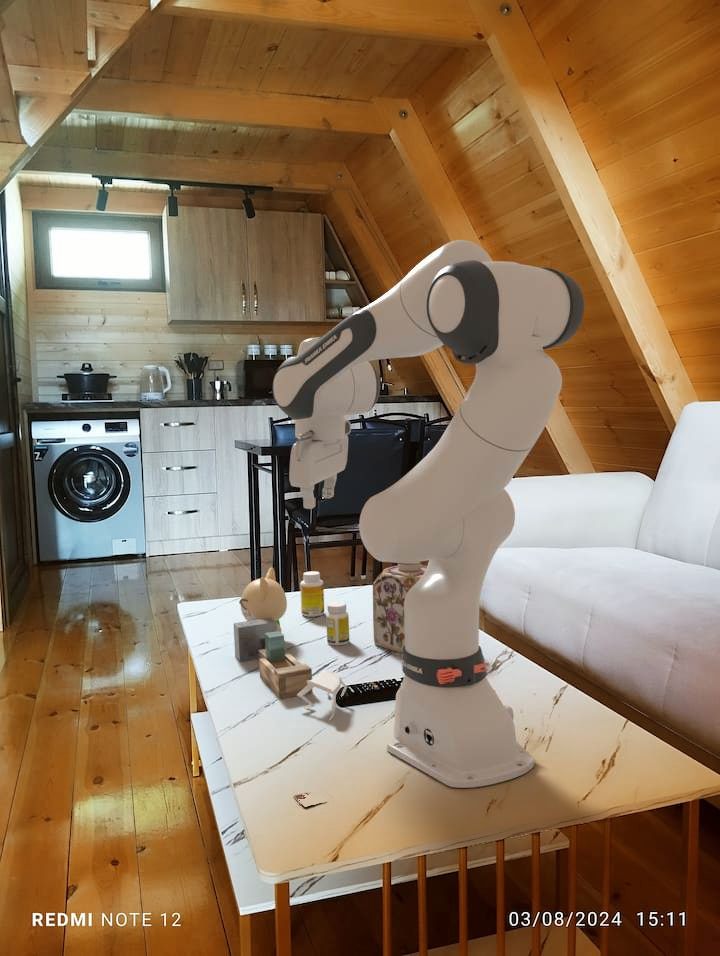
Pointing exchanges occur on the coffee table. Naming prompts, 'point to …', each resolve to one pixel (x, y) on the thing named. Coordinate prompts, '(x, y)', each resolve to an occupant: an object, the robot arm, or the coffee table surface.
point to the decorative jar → (393, 603)
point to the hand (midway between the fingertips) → (319, 502)
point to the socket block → (251, 637)
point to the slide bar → (274, 650)
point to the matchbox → (300, 796)
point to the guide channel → (285, 677)
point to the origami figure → (324, 688)
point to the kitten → (264, 599)
